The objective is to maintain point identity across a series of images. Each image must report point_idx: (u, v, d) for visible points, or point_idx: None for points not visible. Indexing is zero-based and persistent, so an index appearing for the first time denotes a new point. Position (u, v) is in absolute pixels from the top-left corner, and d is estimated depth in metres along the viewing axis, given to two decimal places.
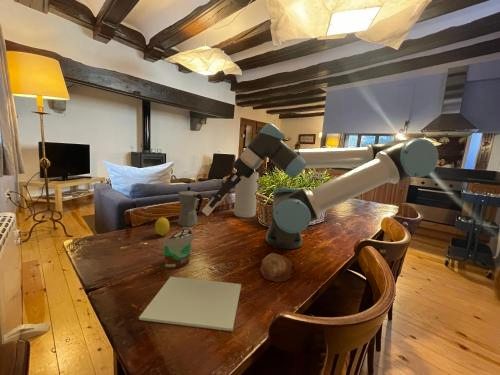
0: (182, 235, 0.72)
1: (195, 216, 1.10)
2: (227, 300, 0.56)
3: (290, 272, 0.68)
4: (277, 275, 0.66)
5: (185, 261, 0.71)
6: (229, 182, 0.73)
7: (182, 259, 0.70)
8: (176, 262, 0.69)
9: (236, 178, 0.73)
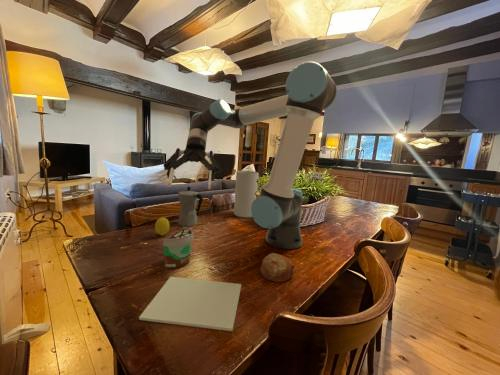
0: (182, 235, 0.72)
1: (195, 216, 1.10)
2: (227, 300, 0.56)
3: (290, 272, 0.68)
4: (277, 275, 0.66)
5: (185, 261, 0.71)
6: None
7: (182, 259, 0.70)
8: (176, 262, 0.69)
9: None
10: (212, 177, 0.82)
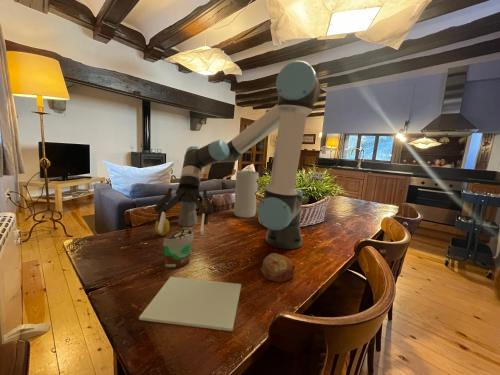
0: (182, 235, 0.72)
1: (195, 216, 1.10)
2: (227, 300, 0.56)
3: (291, 272, 0.68)
4: (278, 275, 0.66)
5: (185, 261, 0.71)
6: None
7: (182, 259, 0.70)
8: (176, 262, 0.69)
9: None
10: (205, 221, 0.78)
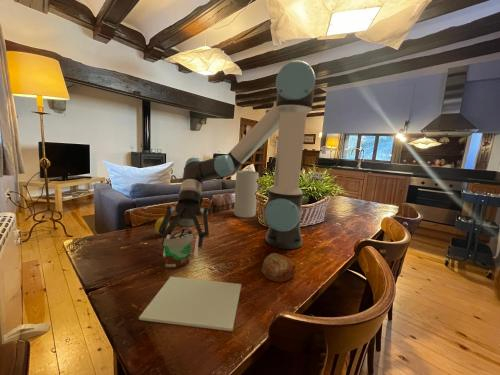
0: (182, 234, 0.72)
1: None
2: (227, 300, 0.56)
3: (292, 272, 0.68)
4: (278, 275, 0.66)
5: (185, 261, 0.71)
6: None
7: (182, 259, 0.70)
8: (176, 262, 0.69)
9: (167, 208, 0.77)
10: (199, 244, 0.71)
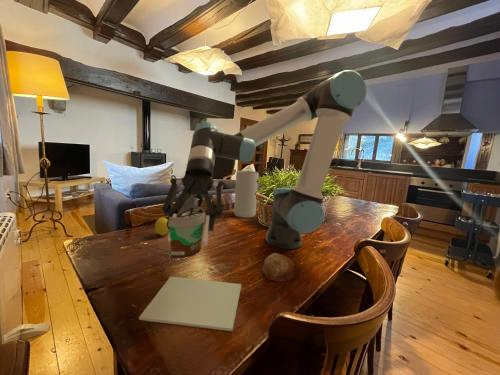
0: (191, 214, 0.55)
1: None
2: (227, 300, 0.56)
3: (292, 272, 0.68)
4: (279, 275, 0.66)
5: (196, 248, 0.54)
6: None
7: (193, 244, 0.53)
8: (185, 249, 0.52)
9: None
10: (210, 227, 0.54)
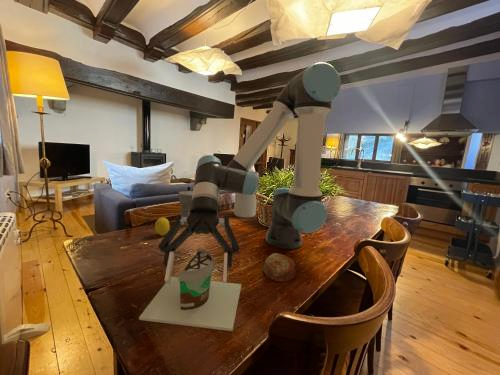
0: (199, 261, 0.55)
1: None
2: (227, 300, 0.56)
3: (293, 272, 0.68)
4: (280, 275, 0.66)
5: (205, 296, 0.54)
6: None
7: (202, 294, 0.53)
8: (195, 300, 0.52)
9: None
10: (228, 264, 0.55)
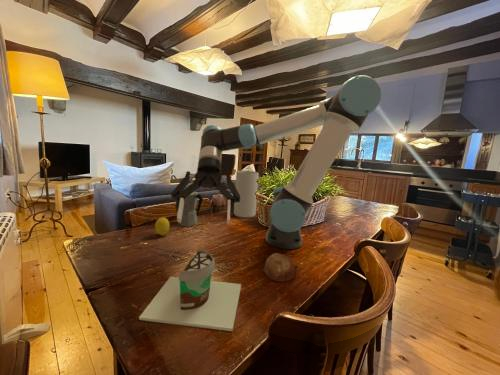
0: (200, 261, 0.55)
1: (195, 216, 1.10)
2: (227, 300, 0.56)
3: (294, 272, 0.68)
4: (281, 275, 0.66)
5: (205, 297, 0.54)
6: None
7: (202, 294, 0.53)
8: (195, 300, 0.52)
9: None
10: (231, 209, 0.66)
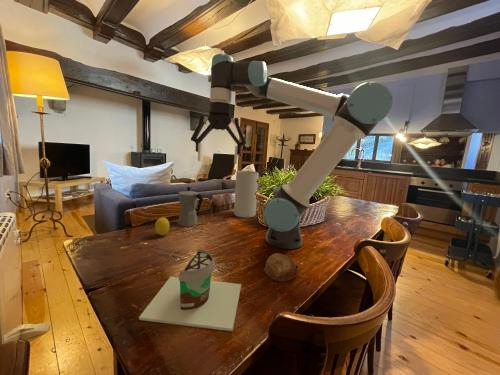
0: (200, 261, 0.55)
1: (195, 216, 1.10)
2: (227, 300, 0.56)
3: (294, 272, 0.68)
4: (281, 275, 0.66)
5: (205, 297, 0.54)
6: None
7: (202, 294, 0.53)
8: (195, 300, 0.52)
9: None
10: (238, 153, 0.84)
